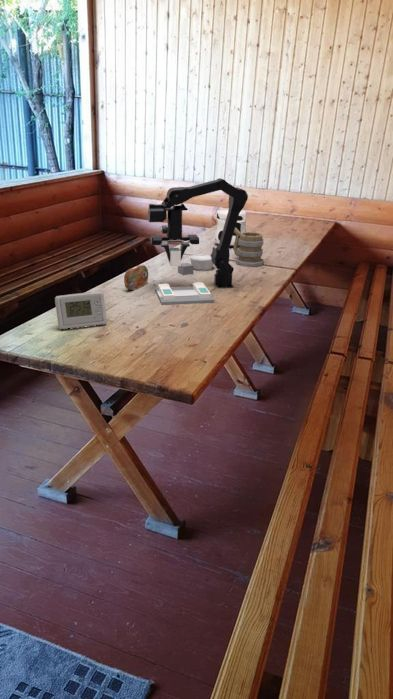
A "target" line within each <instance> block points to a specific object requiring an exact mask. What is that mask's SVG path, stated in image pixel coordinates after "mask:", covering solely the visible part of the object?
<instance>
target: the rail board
mask: <svg viewBox="0 0 393 699" xmlns="http://www.w3.org/2000/svg"><path fill="white" fill-rule="evenodd" d="M154 291H155V293H156V295H157V297H158V299H159V302H160V303H161V305H164V306H165V305H166V306H167V305H183V304H185V305H186V304H188V305H189V304H206V303H207V304H209V303H215V298H214V297H213V296H212V294H211V291H210V290H209V289H208V288H207V286H206V285H205V284H204V283H203V281H202V282H199V281H198V282H192V286H171V287H170V284H169V283H158V284H157V287H155V288H154Z"/></svg>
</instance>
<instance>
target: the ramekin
mask: <svg viewBox="0 0 393 699" xmlns="http://www.w3.org/2000/svg"><path fill="white" fill-rule="evenodd" d="M210 255H211V254H200V253H198V254H193V255H192V254H191V255H190V258H189V259H190V264H191V265H193V270H195V271H202V270H204V271H211V270H212V269H213V268H214V264H213V263H212V261H211V256H210Z"/></svg>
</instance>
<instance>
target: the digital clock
mask: <svg viewBox="0 0 393 699" xmlns="http://www.w3.org/2000/svg"><path fill="white" fill-rule="evenodd" d="M105 303H106V302H105V295H104V293H103V291H95V292H90V291H89V292H80V293H70V294H64V295H56V296H55V297H54V304H55V309H56V317H57V325H58V326H57V327H58V330H61V329H63V330H69V329H68V328H77V327H85V326H94V327H96V326H95V325H97V326H103V325H106V324H107V323H108V318H107V312H106V311H107V310H106V304H105ZM77 329H78V328H77Z"/></svg>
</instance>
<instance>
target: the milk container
mask: <svg viewBox="0 0 393 699" xmlns="http://www.w3.org/2000/svg"><path fill="white" fill-rule="evenodd" d="M228 210H229V208H223V209H222V208H221V209H217V211H216V212H217V214H216V226H215V227H216V228H215V230H214V231H215V232H214V236H213V237H214V242H215V244H216V245H217V246H218V245H219V242H220V239H221V235H222V232H223V228H224V225H225V221H226V218H227V214H228ZM246 223H247V212H246V211H245V210H243V209H242V210H241V212H240V213H239V216H238V220H237V223H236V226H235V228H237V229H238V231H240V232H241V233H243V232H247V230H246V229H247V228H246V225H247V224H246ZM235 238H236V233H233V237H232V240H231V244H230V247H229V248H234V243H235ZM239 246H240V245H238V247H239Z"/></svg>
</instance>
